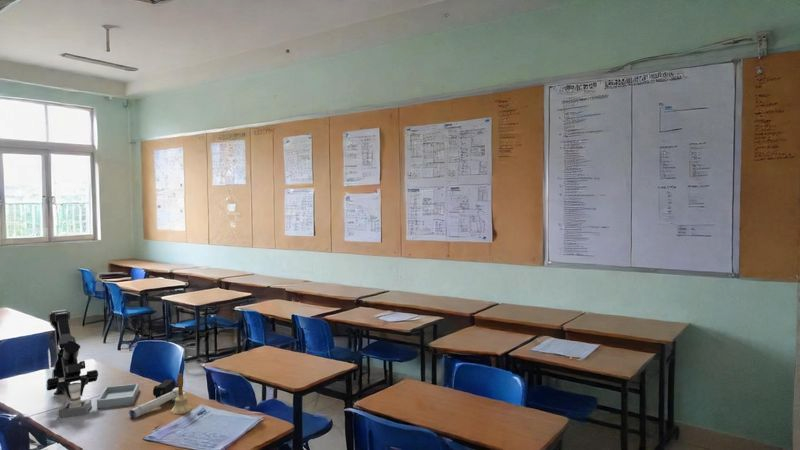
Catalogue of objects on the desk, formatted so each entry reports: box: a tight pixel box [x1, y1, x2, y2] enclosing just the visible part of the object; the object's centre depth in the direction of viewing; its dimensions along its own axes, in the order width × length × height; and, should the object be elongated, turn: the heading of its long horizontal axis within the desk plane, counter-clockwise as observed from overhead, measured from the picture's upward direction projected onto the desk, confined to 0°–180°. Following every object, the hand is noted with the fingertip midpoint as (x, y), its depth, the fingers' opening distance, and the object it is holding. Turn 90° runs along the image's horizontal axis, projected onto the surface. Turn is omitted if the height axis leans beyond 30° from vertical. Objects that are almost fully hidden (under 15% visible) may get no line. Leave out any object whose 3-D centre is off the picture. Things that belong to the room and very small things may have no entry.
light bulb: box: [68, 382, 82, 408], centre depth 221 cm, size 4×4×12 cm
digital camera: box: [152, 379, 176, 399], centre depth 236 cm, size 10×5×7 cm, turn 0°
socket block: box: [57, 399, 92, 419], centre depth 221 cm, size 10×10×3 cm
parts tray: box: [96, 383, 140, 409], centre depth 235 cm, size 18×14×4 cm
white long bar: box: [128, 386, 186, 419], centre depth 224 cm, size 5×7×25 cm
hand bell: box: [170, 373, 192, 415], centre depth 222 cm, size 8×8×16 cm
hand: (75, 397), depth 220 cm, fingers closed on light bulb, 4 cm apart
